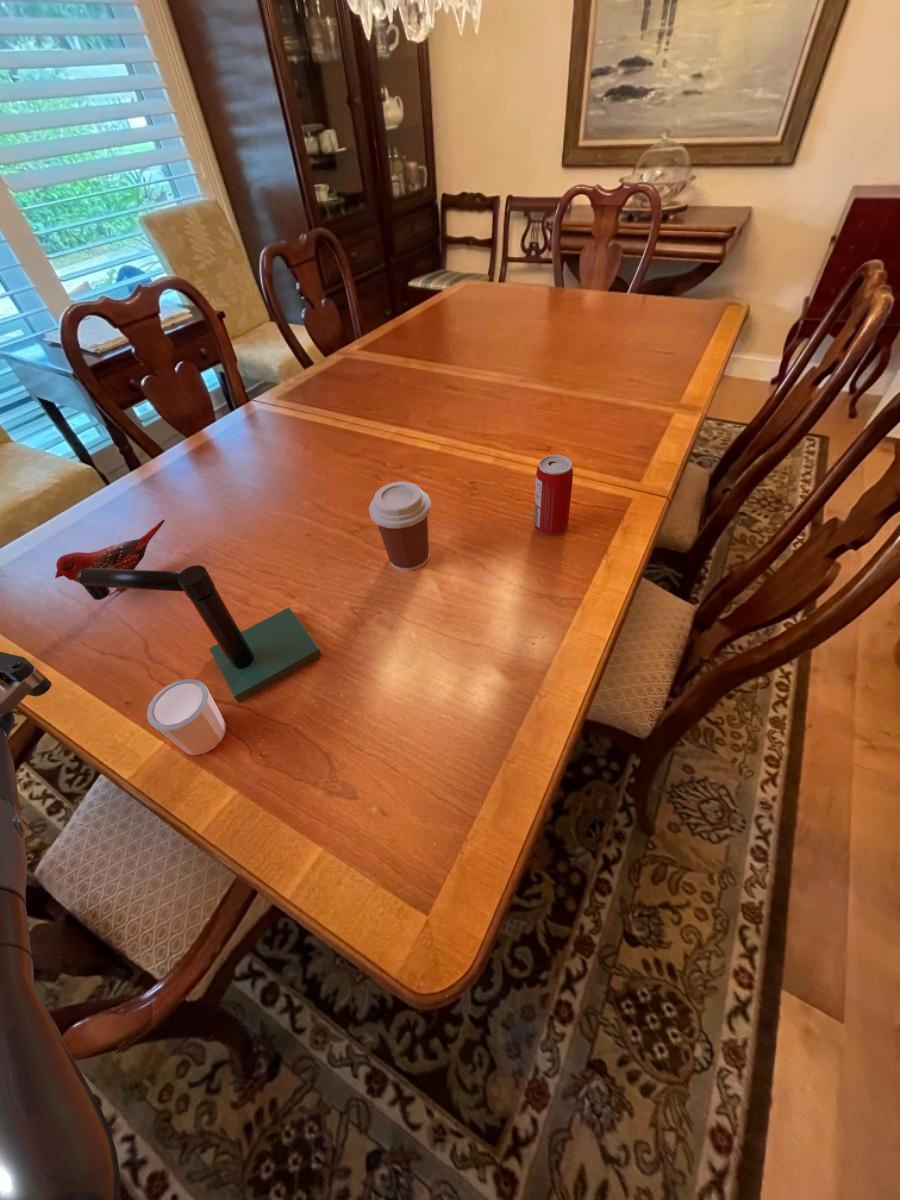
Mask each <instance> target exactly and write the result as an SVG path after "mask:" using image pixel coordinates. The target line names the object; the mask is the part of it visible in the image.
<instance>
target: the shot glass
mask: <svg viewBox="0 0 900 1200" xmlns="http://www.w3.org/2000/svg"><path fill="white" fill-rule="evenodd" d="M146 718H147V721H148V724H149V725H151V727H153V728H154V729H155V730H157V731H158V732H159V733H161V735H163V736H164V737H165V738H167V739H168V740H169V741H170V742H171V743H173V744H174V745H175V746H177V747H178V748H179V749H180V750H181V751H183V752H184V753H185V754H186V755H191V756H199V755H203V754H206V753H208V752H210V751H211V750H212V751H213V749H215V748H216V747H217V746H218V745H219V744H220V743H221V742H222V741H223V738H224V737H225V734H226V731H227V724H226V721H225V719H224V717H223V715H222V713H221V712H220V710H219V708H218V705H217V704H216V702H215V700H214V697H212V695H211V693H210V691H209V689H208V686H206V684H205V683H204V682H202V681H200V680H199V679H193V678H185V679H180V680H176V681H173V682H171V683H170V684H167V685H166V686H164V687H163V688H162V689H161V690H159V691H158V693H156V694H155V695H154V696H153V698H152V699H151V701H150V702H149V704H148V707H147V710H146Z"/></svg>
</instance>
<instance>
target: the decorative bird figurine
mask: <svg viewBox="0 0 900 1200" xmlns="http://www.w3.org/2000/svg"><path fill="white" fill-rule="evenodd" d="M165 521H166V519H162V520H161V521H159V522H158V523H157V524H156V525H155V526H153V527H152V528H151V529H150V530H149V531H147V533H145V534H144V535H142V536H141V537H140V538H138V539H131V540H127V541H122V542H119V543H115V544H113V545H110V546H107V547H105V548H102V549H98V550H95V551H91V552H81V551H77V552H70V553H67V554H63V555H61V556H60V557H59V558H58V559H57V560H56V566H55V567H56V573H55V576H54V579H55V580H56V579H58V578H61V577H65V578H66V579H68V580H69V581H74V582H76V583H77V584H80V583H79V582H78V580H77V574H78V572H79V571H80V570H81V569H84V568H103V569H125V570H136V568H137V567H138V565H139V564H140V563H141V561H142V560H143V558H144V557H145V554H146V551H147V548H148V545H149V543H150V541H151V539H152V538H154V536H155V535H156V534H157V532H158V531H159V530H160V528H161V527H162V526H163V524H164V523H165ZM123 590H125V588H115V591H113V592H110V593H109V595H108V597H110V596H112V595H114V594H116V593H117V592H121V591H123Z"/></svg>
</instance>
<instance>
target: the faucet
mask: <svg viewBox="0 0 900 1200" xmlns="http://www.w3.org/2000/svg"><path fill="white" fill-rule="evenodd" d="M189 600H190V602H191V604H192V605H193V607H194V608H195V609H196V611H197V612H198V614H199V616H200V618H201V619H202V621H203V623H204V624H205V625H206V627H207V629H208V630H209V631H210V633H211V635H212V637H213V638H214V640H215V641H216V643H217V644H215V645H213V646H211V647H209V649H208V650H209V651H210V653H211V655H212V657H213V659H214V660H215V663H216V665H217V666H218V669H219V670H220V673H221V674H222V676H223V678H224V680H225V682H226V684H227V685H228V687H229V689H230V692H231V693H232V695H233V697H234V699H235V700H236V702H237V703H238V704H239V703H241V702H243V701H244V700H246V699H248V698H250V697H252V696H253V695H256V694H257V693H259V692H260V691H262V690H264V689H265V688H267V687H270V686H272V684H274V683H276V682H278V681H280V680H282V679H283V678H285V677H287V676H288V675H289V676H290V674H292V673H294V672H296V671H297V670H300V669H301V668H303V667H305V666H306V665H308V664H309V663H312V662H313V661H315V660H318V659H319V658H320V657H323V655H322V652H321V649H320V647H319V646H318V645H317V644H316V642H315V640H314V639H313V638H312V637H311V635H310V634H309V633H308V631H307V630H306V628H305V627H304V626H303V624H302V623H301V622H300V620H299V619H298V618H297V617H298V616H296V615H295V613H294V611H293V610H292V608H291V607H290V606H288V607H286V608H285V609H282V610H280V611H279V612H277V613H274V614H272V615H270V616H268V617H267V618H265V619H263V620H262V621H259V622H257V623H256V624H253V625H252V626H250V627H248V628H246V629H243V630H242V631H241V630H240V628H239V626H238V625H237V623H236V621H235V620H234V618H233V616H232V613H231V612H230V610H229V609H228V607H227V605H226V604H225V602H224V600H223V598H222V597H221V595H220V593H219V591H218V589H217V588H216V586H215V587H214V590H213V591H212V592H211V593H210V594H209V595H208V596H206V597H204V598H202V599H197V600H194V599H190V598H189Z"/></svg>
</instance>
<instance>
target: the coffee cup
mask: <svg viewBox="0 0 900 1200" xmlns="http://www.w3.org/2000/svg"><path fill="white" fill-rule="evenodd" d="M368 506H369V507H368V512H369V515H370V519H371V520H372V521H373V522H374V523H375V524H376V525H377V527H378V529H379V532H380V536H381V539H382V542H383V545H384V548H385V551H386V554H387V557H388V560H389V563H390V566H392V567H393V568H394V569H395V570H399V571H401V572H413V571H416V570H419V569H420V568H422V567H424V566H425V565H426V564H427V563H428V561H429V558H430V543H429V541H430V540H429V518H428V516H429V514H430V512H431V508H432V501H431V498H430V497H429V494H428V493H426V492H425V491H423V490H422V489H421V487H419V486H418V484H416V483H413V482H409V481H394V482H390V483H387V484H385V485H383V486H381V487H380V488H379V489H378V490H377V491H376V492H375V493H374V497H373V499H372V500H371V502H370V503H369V505H368Z"/></svg>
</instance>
